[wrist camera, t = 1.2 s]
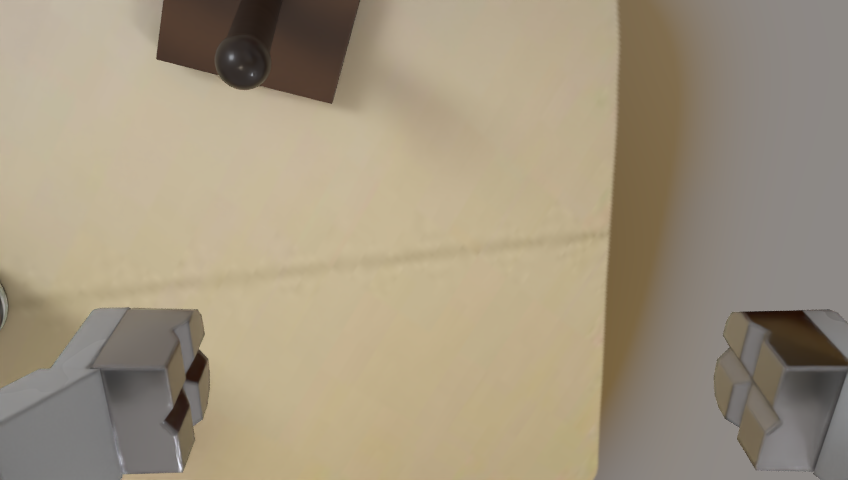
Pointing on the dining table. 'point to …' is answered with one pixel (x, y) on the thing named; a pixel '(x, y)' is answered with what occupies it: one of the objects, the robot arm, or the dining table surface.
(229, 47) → the peg stand
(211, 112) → the dining table surface
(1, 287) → the coffee can
